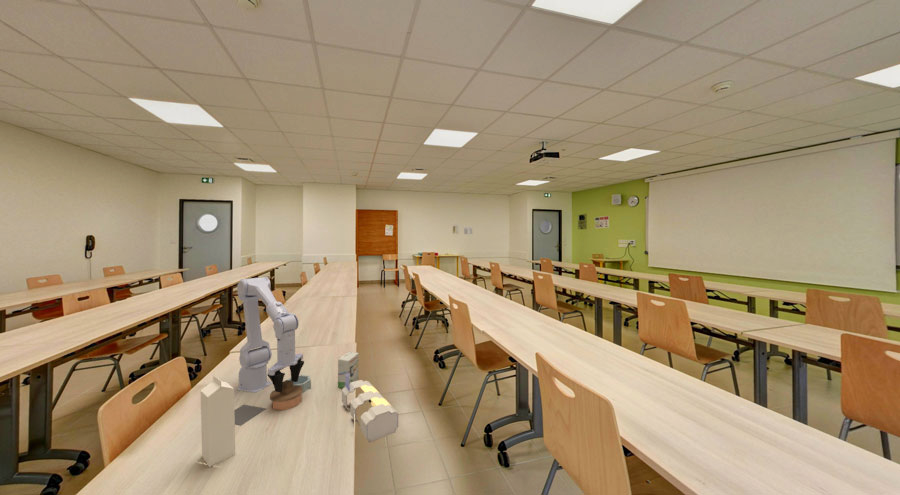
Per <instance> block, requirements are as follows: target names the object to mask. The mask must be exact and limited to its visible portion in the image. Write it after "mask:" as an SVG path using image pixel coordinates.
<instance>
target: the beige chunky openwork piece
mask: <svg viewBox="0 0 900 495" xmlns="http://www.w3.org/2000/svg"><path fill="white" fill-rule="evenodd" d="M345 378H346V380H345V381H346V382H345V383H346V384H345V387H344V388H341V402H342V404H343V405H344V407H345V408H346V409H347V410H349V409H350V411H349V412H350V416H351V418H352V419H353V420H354V414H355V421H354V422H355V423H356V424H357V426H359V427H360V431H361V433H362V434H363V436H364V437H365V439H366V440H367V441H368V442H369V443H372V442H375V441H378V440H380V439H383V438H385V437H387V436H390V435H392V434H393V435H394V433H396V431H397V429H398V428H399V412H398V410H396V409H395V408H394V407H393V406H392V405H391V403H389V401H387V399H386V398H384V396H383V395H382V394H381V393H380V392H379V391H378V390H377V389H376V388H375V387H374V385H373V384H372V383H371V382H370V381H368V380H363V379H360V380H359V379H358V380H357V381H354V382H351V383H350V384H349V382H350V379H349V373H347V374H346V375H345ZM357 389H361V390H362V391H363V392H362V393H360V394H358V396H357V397H354V398H353V399H352V400H350V404H349V405H350V406H349V405H348V395H349V394H350V393H354V391H355V390H357ZM366 402H369V404H370V405H371V407H369V409H368V410H367V411H364V412H363V413H362V414H361V415H360V419H359V420H360V422H359V421H358V419H357V409H358V408H359V407H360V406H364V403H366Z"/></svg>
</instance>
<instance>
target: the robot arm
mask: <svg viewBox="0 0 900 495" xmlns="http://www.w3.org/2000/svg"><path fill="white" fill-rule="evenodd" d="M271 288H272V287H271V280H270V278H268V276H262V277H254V278H253V277H252V278H251V277H250V278H241V279H240V280H239V281H238V282H237V297H238V300H239V301H242V306H243V314H244V322H245V329H246V330H245V331H246V340H247V341H246V343H245V344H244V345H243V346H242V347H241V348H240V349H239V360H238V361H239V364H240V366H241V367H240V369H239V372H238V387H236V390H237V391H243V392H250V393H258V392H259V391H261V390H264V389H265V388H266V387H269V386H270V385H273V388H274V390H275V391H276V392H281V391H282V386H283V382H284V378H285V374H286V373H285V372H282V371H281V370H284V369H285V368H287V367H289V372H290V378H291V380H292V381H293V382H297V381H298V378H299V375H301V374H300V373H301V370H302V368H303V366H304V365H305V360H304V353H297V354H296V330H297V329H299V328H298V327H299V319H298V316H297V315H296V314H295V313H292V312H289V311H288V309H287V308H286V307H285V306H284V304H283V303H282V302H281V301H277V299H276V297H275V296H274V293H273V292H272V290H271ZM259 300H260V301H262V303H263V304H264V305H265V306H266V308H265V312H266V313H267V315H268V316H269V318H270V319H271V321H272V322H273V324H272V327H273V331H274V336H275V339H276V343H277V344H276V351H277V354H276V355H277V358H276V363H274V364H273V365H272V366H271V367H270V368H268V369H267V365H268V364H269V361H271V358H272V356H273V355H272V354H273V353H272V349H271V346H270V342H268V341H267V340H264V339H263V336H262V328H261V327H262V326H261V319H260V318H261V317H260V310H259ZM268 378H269V379H270V380H271V381H268Z"/></svg>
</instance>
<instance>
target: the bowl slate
mask: <svg viewBox="0 0 900 495" xmlns="http://www.w3.org/2000/svg"><path fill="white" fill-rule="evenodd" d="M286 380H289V381H292V380H291V377H289V378H288V379H286ZM311 384H312V382H311V376H310V375H305V374H299V378H298V381H297V382H293V385H299V386H301V387H302V393H305V392H307V391H308V390H310V389H312V387H311V386H312V385H311Z"/></svg>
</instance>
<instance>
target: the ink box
mask: <svg viewBox="0 0 900 495" xmlns="http://www.w3.org/2000/svg"><path fill="white" fill-rule="evenodd" d="M337 360H338V362H337V388H338V389H339V388H340V389H343V388H344V387H345V384H346V383H345V382H346V381H345V380H346V378H345V375H346V374H347V373H349V379H350V382H349V384H350V383H351V382H354V381H358V380H359V379H360V376H359V375H360V374H359V373H360V353H359V352H353V351H348V352H346V353H345V354H343V355H342V356H341V357H339V358H338V359H337Z"/></svg>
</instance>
